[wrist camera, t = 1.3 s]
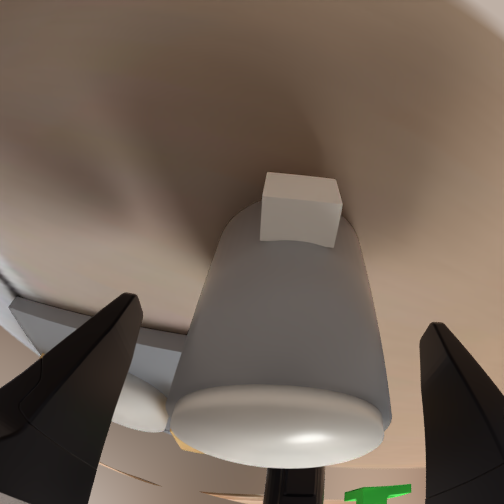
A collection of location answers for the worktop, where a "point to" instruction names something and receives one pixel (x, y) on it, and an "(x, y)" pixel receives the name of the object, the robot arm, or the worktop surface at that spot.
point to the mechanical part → (376, 494)
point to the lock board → (140, 372)
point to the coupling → (284, 338)
